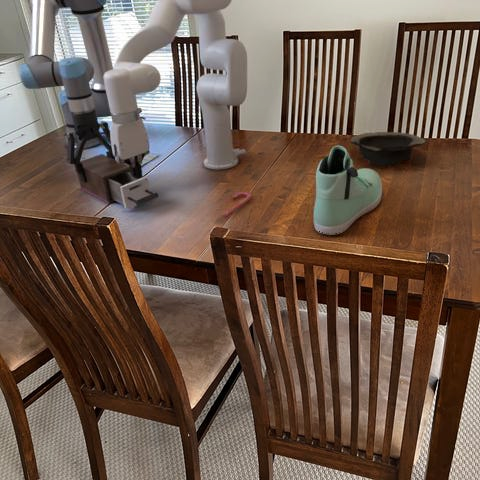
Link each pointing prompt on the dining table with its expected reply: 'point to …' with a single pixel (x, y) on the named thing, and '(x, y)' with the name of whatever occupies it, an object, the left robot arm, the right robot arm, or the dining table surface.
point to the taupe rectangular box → (100, 175)
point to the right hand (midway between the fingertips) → (137, 177)
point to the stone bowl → (386, 147)
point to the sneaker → (343, 192)
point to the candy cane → (237, 206)
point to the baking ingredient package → (147, 158)
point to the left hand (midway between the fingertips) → (98, 175)
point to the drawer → (129, 190)
